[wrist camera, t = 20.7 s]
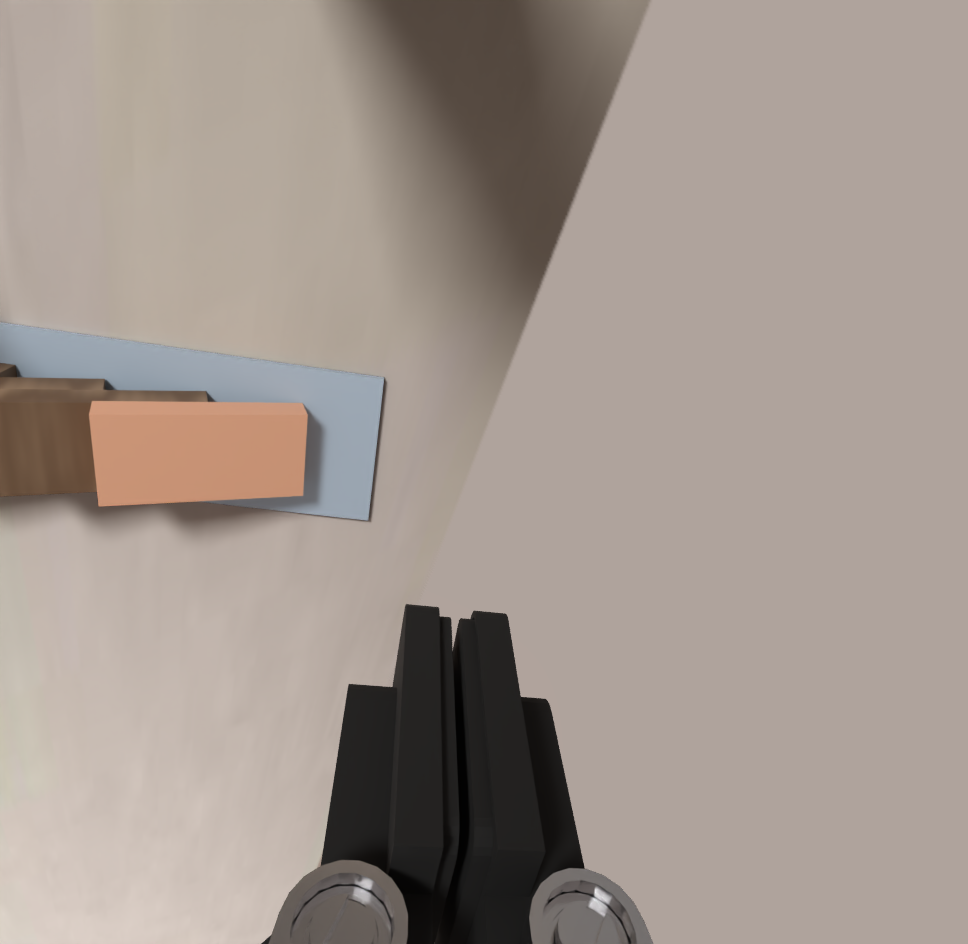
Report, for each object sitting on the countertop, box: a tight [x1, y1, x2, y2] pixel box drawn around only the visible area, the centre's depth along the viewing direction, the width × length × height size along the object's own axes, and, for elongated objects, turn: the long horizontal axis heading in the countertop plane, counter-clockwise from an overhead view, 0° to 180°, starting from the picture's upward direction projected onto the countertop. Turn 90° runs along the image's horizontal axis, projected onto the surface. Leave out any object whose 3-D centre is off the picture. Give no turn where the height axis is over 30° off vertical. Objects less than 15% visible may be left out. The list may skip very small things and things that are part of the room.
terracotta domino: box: [89, 401, 308, 507], centre depth 40 cm, size 2×6×12 cm
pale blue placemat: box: [0, 322, 384, 521], centre depth 43 cm, size 11×25×1 cm, turn 80°
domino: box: [0, 389, 208, 497], centre depth 39 cm, size 2×6×12 cm
